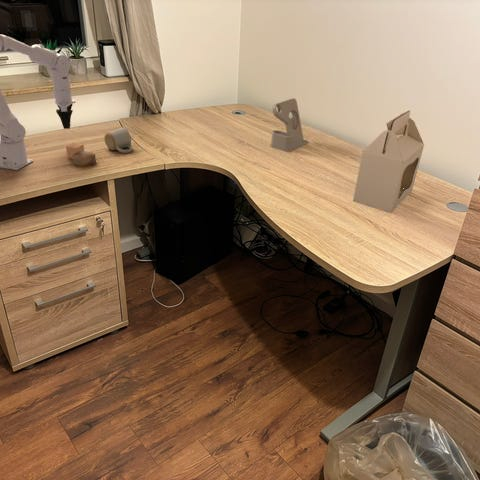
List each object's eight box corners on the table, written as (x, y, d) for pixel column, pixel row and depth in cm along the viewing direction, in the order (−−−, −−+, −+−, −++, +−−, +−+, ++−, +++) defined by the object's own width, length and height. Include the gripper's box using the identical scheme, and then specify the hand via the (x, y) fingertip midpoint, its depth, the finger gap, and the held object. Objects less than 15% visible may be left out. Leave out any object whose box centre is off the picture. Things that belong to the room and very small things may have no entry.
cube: (78, 159, 175) (76, 148, 173) (67, 157, 176) (65, 146, 174) (84, 155, 179) (83, 144, 176) (74, 154, 180) (72, 142, 177)
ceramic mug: (103, 148, 186) (102, 129, 182) (120, 143, 192) (119, 125, 188) (120, 155, 181) (118, 136, 177) (137, 150, 186) (136, 132, 182)
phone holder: (288, 152, 193) (293, 109, 184) (267, 146, 198) (271, 103, 189) (309, 142, 205) (315, 101, 196) (289, 137, 210) (294, 96, 201)
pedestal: (88, 168, 169) (87, 160, 167) (68, 165, 170) (67, 157, 169) (100, 161, 175) (99, 153, 174) (81, 157, 177) (80, 150, 175)
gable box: (376, 180, 173) (393, 104, 158) (412, 191, 166) (433, 112, 152) (352, 201, 157) (368, 118, 142) (390, 213, 150) (411, 127, 136)
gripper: (73, 93, 166) (78, 130, 173) (73, 83, 178) (77, 119, 185) (52, 93, 164) (58, 131, 171) (53, 84, 176) (58, 119, 183)
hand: (67, 125), depth 178 cm, fingers open, 7 cm apart
